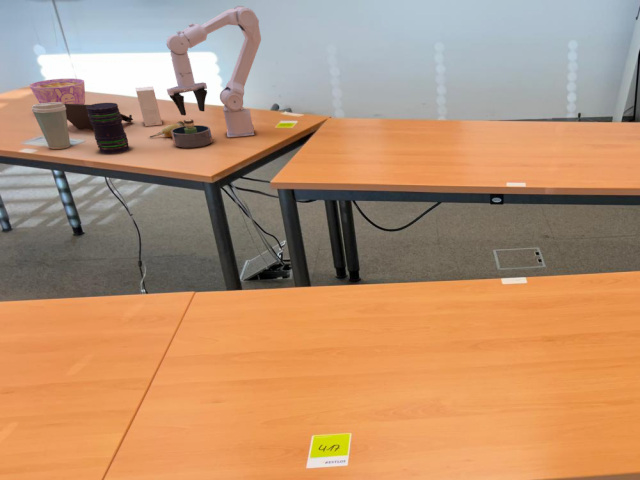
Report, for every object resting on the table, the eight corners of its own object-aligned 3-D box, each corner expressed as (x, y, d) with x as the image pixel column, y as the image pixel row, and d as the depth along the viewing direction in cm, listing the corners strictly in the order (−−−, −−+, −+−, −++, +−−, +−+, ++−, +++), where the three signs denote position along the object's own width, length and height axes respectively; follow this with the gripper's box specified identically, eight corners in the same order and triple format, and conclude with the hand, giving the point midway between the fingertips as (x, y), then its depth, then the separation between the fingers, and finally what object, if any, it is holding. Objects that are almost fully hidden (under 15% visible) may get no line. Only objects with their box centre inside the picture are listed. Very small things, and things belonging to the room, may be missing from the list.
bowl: (212, 137, 269) (208, 123, 266) (213, 146, 259) (210, 132, 256) (174, 141, 265) (170, 127, 262) (174, 150, 255) (171, 135, 252)
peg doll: (199, 140, 264) (194, 117, 260) (199, 143, 261) (194, 120, 256) (187, 141, 263) (182, 118, 258) (187, 144, 260) (182, 121, 255)
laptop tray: (139, 139, 290) (139, 115, 289) (98, 125, 267) (98, 99, 266) (87, 136, 293) (87, 113, 292) (42, 122, 270) (42, 96, 269)
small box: (162, 124, 285) (153, 89, 278) (145, 126, 283) (135, 91, 276) (161, 120, 292) (152, 86, 284) (144, 122, 289) (134, 87, 282)
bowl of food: (77, 118, 295) (68, 88, 288) (29, 118, 295) (18, 87, 289) (101, 107, 311) (93, 78, 305) (55, 107, 312) (46, 78, 305)
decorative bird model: (175, 131, 263) (185, 117, 270) (143, 135, 266) (154, 121, 272) (181, 141, 266) (191, 127, 273) (150, 146, 269) (160, 132, 275)
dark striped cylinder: (133, 145, 260) (120, 102, 251) (127, 153, 252) (114, 108, 243) (103, 147, 258) (89, 103, 250) (96, 155, 250) (82, 109, 242)
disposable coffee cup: (39, 147, 258) (24, 102, 250) (71, 141, 265) (57, 98, 257) (50, 152, 252) (35, 107, 244) (82, 146, 259) (69, 102, 251)
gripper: (171, 77, 248) (181, 118, 255) (208, 70, 258) (216, 110, 265) (159, 74, 251) (169, 115, 258) (196, 68, 261) (205, 108, 268)
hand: (192, 113), depth 262 cm, fingers open, 7 cm apart
